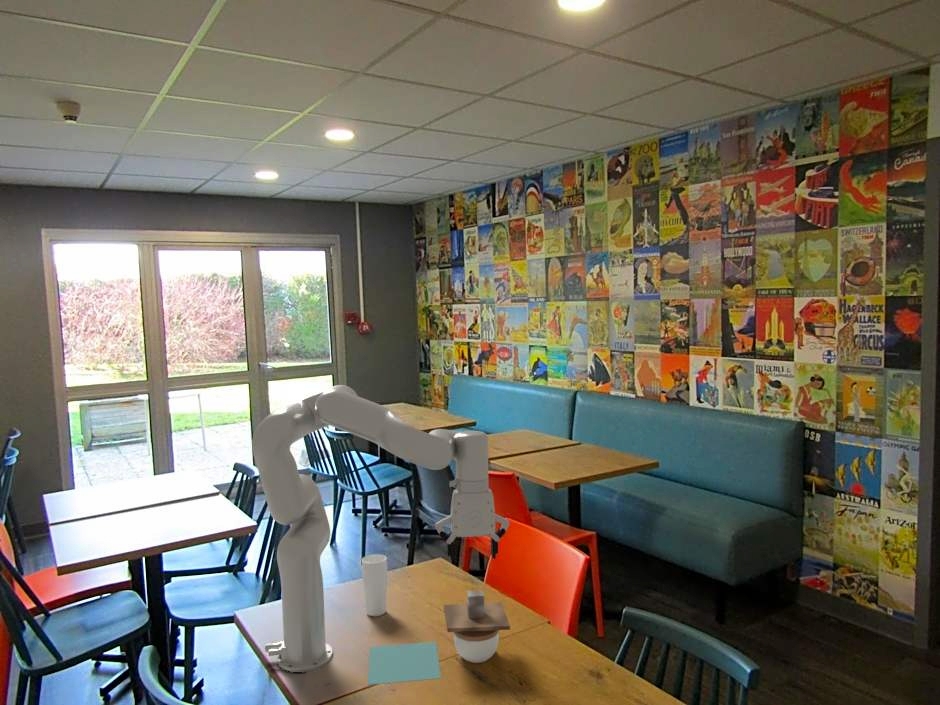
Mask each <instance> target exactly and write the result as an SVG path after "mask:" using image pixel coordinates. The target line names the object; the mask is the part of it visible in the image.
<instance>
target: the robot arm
mask: <svg viewBox="0 0 940 705" xmlns="http://www.w3.org/2000/svg"><path fill="white" fill-rule="evenodd" d="M329 426H330V427H333V428H335V429H338V430H340V431H343V432H346V433H348V434H352V435H353V436H357V437H360V438H362V439H365V440H367V441H368V442H369V441H370V442H371V443H374V444H376V445H378V447H380V448H381V449H384V450H385V451H387V452H389V454H390V453H391V454H392V455H394V456H396V457H397V458H398V459H399V458H400V459H402V460H404V461H406V462H408V463H411V464H414V465H417V466H419V467H421V468H423V469H429V470H432V471H433V470H434V471H438V470H443V469H445V468H447V467H448V466H449V465H450V464H451V462H452V461H453V460H454V461H455V477H454V479H453V480H449V488H452V487H453V488H454V489H453V491H452V496H451V504H450V514H449V515H448V516H446V517H444V518H442V519H440V520H439V521H436V522H435V523H434V526H435V527H434V528H435V529H436V531H437V533H438V535H439V537H441V539H442V540H443V541H445V542H446V554H447V557H449V558H450V561H451V562H454V561H455V544H454V541H455V539H456V538H457V537H458V538H462V537H463V538H470V537H473V538H474V537H488V536H490V537H491V538H490V556H491V559H494V560H495V559H496V557H497V556H496V555H497V554H499V541H500V540H501V538H502V537H503V536H504V535H505V534H506V532H507V530H508V528H509V526H510V524H511V522H510V521H509V519H507V518H505V517H503V516H502V515H499V514H497V513H495V512H496V510H495V502H494V495H493V491H492V489H490V488H489V437H488V434H487V433H486V432H484V431H481V430H462V431H460V430H452V429H445V428H437V429H433V430H431V431H429V433H428V432H425V431H423V430H421V429H418V428H415V427H413V426H412V425H409V424H407V422H404V421H403V420H402V419H400V418H399V417H398V415H397V414H396V413H395V412H394V411H393V410H392V409H391V408H389V407H387V406H384V405H383V404H380V403H377V402H374V401H371V400H368V399H366V398H363V397H361V396H358V394H357V393H356V391H355V390H354V389H353V388H351V386H350V387H349V385H344V384H337V385H333V386H331V387H329V388H327V389H324V390H322V391H320V392H317V393H315V394H312V395H310V396H306V397H305V398H302V399H300V400H297V401H293V402H292V403H290V404H289V403H288V404H287V405H285V406H283V407H280V408H278V409H276V410H275V411H273V412H271V413H270V414H268V415H267V416H266V417H265V418H264V419H262V421H261V422H259V424H258V426H257V427H256V429H255V431H254V432H253V434H252V436H253V437H252V439H251V440H252V441H251V448H252V454H253V458H254V462H255V466H256V467H257V468H256V469H257V470H258V474H259V477H260V484H261V486H262V488H263V492H264V496H265V499H266V504H267V507H268V510H269V513H270V515H271V518H272V519H273V520H274V521H276V523H278V524H279V525H282V526H283V525H284V526H288V525H289V527H290V528H289V529H288V531H287V532H286V533H285V534H284V535H283V537H282V538H281V540H279V543H278V546H277V550H276V551H277V552H276V561H277V567H278V572H279V577H280V587H281V588H280V590H281V604H282V606H281V608H282V629H283V632H282V633H283V640H279V642H268V643H267V642H266V643H265V645H264V652H265V653H268V656H269V657H274V656H277V665H278V664H279V665H278V667H279V666H280V667H281V668H282V670H283V669H284V670H283V671H285V670H287V671H286V672H288V671H290V672H289V673H293V672H302V673H307V672H309V671H313V670H316V669H318V668H321V667H323V666H325V665H326V664H327V663H329V661H331V660H332V658H333V655H334V653H333V652H334V651H333V650H334V649H333V647H332V646H331V645H330V644H329V643H326V621H325V620H326V618H325V616H326V615H325V599H324V597H325V596H324V582H323V581H324V580H323V579H324V578H323V573H322V566H321V556H322V553H323V552H324V550H325V549H326V547H327V546H328V545H329V542H330V539H331V526H330V523H329V518H328V516H327V512H326V508H325V505H324V501H323V498H322V495H321V491H320V488H319V487H318V484H317V483H316V482H315V481H314V479H313V478H311V477H310V476H308V475H306V474H303V473H299V469H298V465H297V461H296V459H295V457H294V456H293V453H292V452H291V446H292V445H293V444H294V443H296V442H297V441H299V440H301V439H303V438H304V437H305V436H308V435H309V434H311V433H313V432H317V431H319V430H321V429H323V428H326V427H329ZM496 523H499V524H501V526H500V527H499V528H498V530H496ZM447 525H450V531H449V532H448V533H447V532H446V531H445V530H444V529H443V527H445V526H447ZM280 667H279V668H280ZM281 668H280V669H281Z"/></svg>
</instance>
